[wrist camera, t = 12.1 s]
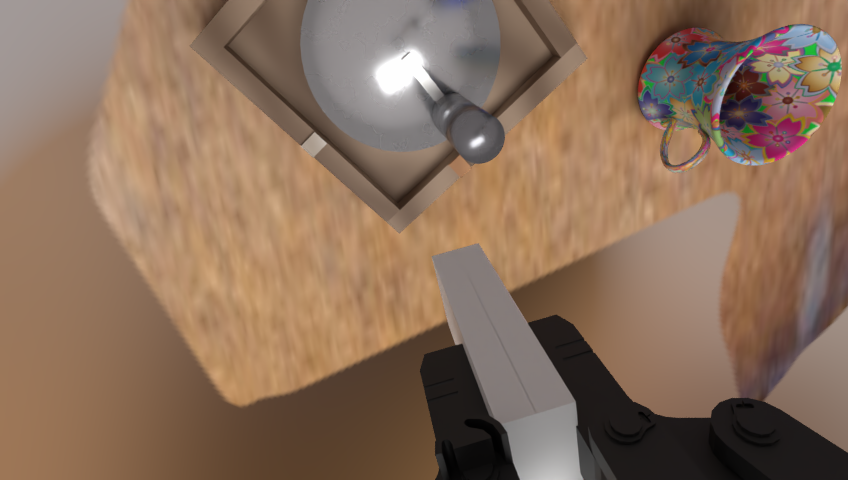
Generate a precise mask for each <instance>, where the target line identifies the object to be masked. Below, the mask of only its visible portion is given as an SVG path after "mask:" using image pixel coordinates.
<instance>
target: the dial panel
mask: <svg viewBox="0 0 848 480" xmlns="http://www.w3.org/2000/svg"><path fill="white" fill-rule="evenodd" d="M307 1H308V0H228V1H227V2H226V4H225V5H224V6H223V7H222V8H221V10H220V11H219V12H218V13H217V14H216V15H215V17H214V18H213V19H212V20H211V21H210V22H209V24H208V25H207V26H206V27H205V28H204V30H203V31H202V32H201V33H200V34H199V35H198V37H197V38H196V39H195V40H194V41H193V43H192V44H191V45H190V47H191V48H192V49H193V50H194V51H196V52H197V53H198V54H199V55H200V56H201V57H202V58H203V59H205V60H206V61H207V62H208V63H209V64H210V65H211V66H212V67H214V68H215V69H216V70H217V71H218V72H219V73H220V74H221V75H222V76H224V77H225V78H226V79H227V80H228V81H229V82H230V83H231V84H233V85H234V86H235V87H236V88H237V89H238V90H239V91H240V92H242V93H243V94H244V95H245V96H246V97H247V98H248V99H249V100H250V101H252V102H253V103H254V104H255V105H256V106H257V107H258V108H259V109H261V110H262V111H263V112H264V113H265V114H266V115H267V116H268V117H270V118H271V119H272V120H273V121H274V122H275V123H276V124H277V125H278V126H280V127H281V128H282V129H283V130H284V131H285V132H286V133H287V134H289V135H290V136H291V137H292V138H293V139H294V140H295V141H296V142H298V143H299V144H300V145H301V147H302V148H303V149H304V150H305V151H306V152H308V153H309V154H310V155H311V156H312V157H314V158H315V159H317V160H318V161H319V162H320V163H321V164H322V165H323V166H324V167H326V168H327V169H328V170H329V171H330V172H331V173H332V174H333V175H334V176H336V177H337V178H338V179H339V180H340V181H341V182H342V183H343V184H345V185H346V186H347V187H348V188H349V189H350V190H351V191H352V192H354V193H355V194H356V195H357V196H358V197H359V198H360V199H361V200H362V201H364V202H365V203H366V204H367V205H368V206H369V207H370V208H371V209H373V210H374V211H375V212H376V213H377V214H378V215H379V216H380V217H382V218H383V219H384V220H385V221H386V222H387V223H388V224H389V225H390V226H392V227H393V228H394V229H395V230H396V231H397V232H398V233H401V232H402V231H403V230H404V229H405V228H406V227H407V226H408V225H409V224H410V223H411V222H412V221H413V220H415V219H416V218H417V217H418V216H419V215H420V214H421V213H422V212H423V211H424V210H425V209H426V208H427V207H428V206H430V205H431V204H432V203H433V202H434V201H435V200H436V199H437V198H438V197H439V196H440V195H441V194H442V193H444V192H445V191H446V190H447V189H448V188H449V187H450V186H451V185H452V184H453V183H454V182H455V181H456V180H457V179H459V178H461V177H462V176H463V175H465V174H466V173H467V172H468V171H469V170H470V169H471V168H472V167H471V166H473V165H474V164H475V163H471V162H469V161H467V160H465V159H464V158H463V157H462V156H461V155H460V154H459V153H458V152H457V150H456V149H455V148H454V147H453V146H452V145H451V144H450V142H449V141H448V140H446V141H444V142H442V143H440V144H437V145H435V146H433V147H429V148H426V149H422V150H417V151H410V152H394V151H385V150H381V149H377V148H373V147H371V146H368V145H365V144H363V143H361V142H359V141H357V140H355V139H353V138H352V137H350V136H349V135H347V134H346V133H344V132H343V131H342V130H340V129H339V128H338V127H337V126H336V125H335V124H334V123H333V122H332V121H331V120H330V119H329V118H328V117H327V115H326V114H325V113H324V112H323V111H322V109H321V107H320V106H319V104H318V103H317V101H316V100H315V98H314V96H313V94H312V92H311V90H310V87H309V85H308V82H307V79H306V76H305V73H304V69H303V64H302V59H301V47H300V39H301V26H302V20H303V14H304V11H305V8H306V5H307ZM492 2H493V4H494V7H495V10H496V14H497V18H498V23H499V30H500V59H499V65H498V70H497V75H496V78H495V81H494V84H493V87H492V89H491V91H490V93H489V96H488V98H487V100H486V101H485V103H484V104H483V106H482V109H483V110H485V111H486V112H488V113H489V114H491V115H492V116H494V117H496V118H497V119H498V120H499V121H500V122H501V124H502V126H503V128H504V132H505V135H506V134H507V133H508V132H509V131H510V130H511V129H512V128H513V127H514V126H515V125H517V124H518V123H519V122H520V121H521V120H522V119H523V118H524V117H525V116H526V115H527V114H528V113H529V112H531V111H532V110H533V109H534V108H535V107H536V106H537V105H538V104H539V103H540V102H541V101H542V100H543V99H545V98H546V97H547V96H548V95H549V94H550V93H551V92H552V91H553V90H554V89H555V88H556V87H557V86H558V85H560V84H561V83H562V82H563V81H564V80H565V79H566V78H567V77H568V76H569V75H570V74H571V73H572V72H574V71H575V70H576V69H577V68H578V67H579V66H580V65H581V64H582V63H583V62H584V61H585V60H586V59H587V57H586V55H585V54H584V52H583V51H582V49H581V48H580V46H579V45H578V43H577V42H576V40H575V39H574V37H573V36H572V34H571V33H570V32H569V30H568V29H567V27H566V26H565V24H564V23H563V21H562V20H561V18H560V17H559V15H558V14H557V12H556V11H555V9H554V8H553V6H552V5H551V3H550V2H549V0H492Z"/></svg>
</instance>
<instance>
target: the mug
mask: <svg viewBox="0 0 848 480" xmlns="http://www.w3.org/2000/svg"><path fill="white" fill-rule="evenodd" d="M841 70H842V65H841V57H840V53H839V50H838V47H837V45H836V43H835V42H834V40H833V39H832V37H831V36H830V35H829V34H828V33H826V32H825V31H823V30H822V29H820V28H818V27H815V26H812V25H805V24H795V25H788V26H785V27H781V28H778V29H776V30H773V31H771V32H769V33H767V34H765V35H763V36H761V37H758V38H756V39H752V40H748V41H743V42H729V41H725V40H723V38H722V37H721V36H720V35H718V34H717V33H715V32H714V31H712V30H709V29H706V28H699V27H698V28H689V29H685V30H682V31H679V32H677V33H675V34H673V35H671V36H670V37H668V38H667V39H666V40H664V41H663V42H662V43H661V44H660V45H659V46H658V47H657V48H656V49H655V50H654V51H653V53H652V54H651V55H650V57H649V59H648V60H647V62H646V64H645V66H644V68H643V70H642V73H641V76H640V80H639V85H638V101H639V106H640V109H641V111H642V113H643V115H644V117H645V118H646V119H647V120H648V121H649V122H650V123H651V124H652V125H653V126H655V127H657V128H659V129H662V130H665V132H664V135H663V137H662V141H661V146H660V156H661V160H662V163H663V164H664V166H665V167H666V168H667V169H668V170H669V171H671V172H674V173H681V172H685V171H688V170H690V169H692V168H693V167H695V166H696V165H698V164H699V163H700V162H701V161H702V160H703V159H704V158H705V156H706V155H707V153H708V151H709V149H710V138H709V136H710V137H711V138H712V139H713V140H714V142H715V143H716V144H717V146H718V148H719V149H720V150H721V152H722V153H723V154H724V155H725V156H727V157H728V158H729V159H731V160H733V161H735V162H737V163H740V164H744V165H762V164H767V163H771V162H774V161H777V160H779V159H781V158H783V157H785V156H787V155H789V154H790V153H792V152H793V151H795V150H796V149H798V148H799V147H800V146H801V145H803V144H804V143H805V142H806V141H807V140H808V139H809V138H810V137H811V136H812V135H813V134H814V133H815V132H816V130H817V129H818V128H819V127H820V125H821V124H822V123H823V121H824V120H825V118H826V117H827V115H828V113H829V111H830V109H831V108H832V106H833V103H834V101H835V99H836V96H837V93H838V89H839V86H840V80H841ZM686 128H694V129H697V130H698V133H699V134H700V135H701V137H702V140H703V141H702V145H701V147H700V149H699V151H698V152H697V153H696V154H695V155H694V156H693V157H692V158H691V159H690V160H688V161H686V162H685V163H682V164H680V165H671V164H670V163H669V160H668V145H669V142H670V139H671V136H672V134H673V132H674V131H676V130H682V129H686Z"/></svg>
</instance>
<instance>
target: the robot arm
mask: <svg viewBox="0 0 848 480" xmlns="http://www.w3.org/2000/svg"><path fill="white" fill-rule="evenodd" d="M432 260H433V264H434V268H435V272H436V276H437V280H438V284H439V288H440V292H441V296H442V300H443V304H444V308H445V312H446V316H447V320H448V324H449V327H450V330H451V333H452V336H453V339H454V341H455V344H456V345H455V346H452V347H448V348H445V349H441V350H438V351H434V352H431V353H427V354H425V355H424V358H423V362H422V365H421V369H420V373H421V377H422V382H423V386H424V390H425V395H426V399H427V403H428V408H429V411H430V416H431V421H432V425H433V429H434V433H435V438H436V441H435V456H436V459H437V462H438V465H439V472H438V475H437V477H436V479H435V480H583V479H584V480H848V453H847V452H846V451H844V450H843V449H841V448H839V447H838V446H836V445H835V444H833V443H832V442H830V441H828V440H827V439H825V438H824V437H822V436H821V435H819V434H818V433H816V432H814V431H813V430H811V429H810V428H808V427H807V426H805V425H803V424H802V423H800V422H799V421H797V420H796V419H794V418H792V417H791V416H790V415H788V414H786V413H785V412H783V411H782V410H780V409H778V408H776V407H774V406H772V405H770V404H768V403H766V402H762V401H758V400H754V399H750V398H731V399H728V400H725V401H723V402H720V403H719V404H718V405H717V406H716V407H715V408H714V409H713V410H712V414H711V418H672V417H664V416H660V415H657V414H654V413H653V412H652V411H651V410H649V409H648V408H647V407H644V406H642V405H640V404H638V403H636V402H633V401H632V400H631V399H630V398H629V397H628V396H627V395H626V393H625V392H624V391H623V389H622V388H621V387H620V385H619V384H618V383H617V382H616V381H615V379H614V378H613V376H612V375H611V374H610V372H609V371H608V370H607V369H606V367H605V366H604V365H603V363H602V362H601V361H600V359H599V358H598V357H597V355H596V354H595V353H593V350H592V349H591V347H590V346H589V345H588V344H587V342H586V341H584V338H583V337H582V335H581V334H580V333H579V331H578V330H577V329H576V328H575V326H574V325H573V324H571V323H570V322H568V321H566V320H565V319H563V318H561V317H560V316H558V315H553V316H550V317H546V318H543V319H540V320H537V321H533V322H529V323H527V322H526V320H525V318H524V317H523V315H522V313H521V312H520V310H519V309H518V307H517V305H516V304H515V302H514V300H513V299H512V297H511V295H510V294H509V292H508V291H507V289H506V287H505V286H504V284H503V282H502V281H501V279H500V278H499V276H498V274H497V273H496V271H495V269H494V268H493V266H492V265H491V263H490V261H489V260H488V258H487V256H486V255H485V253H484V252H483V250H482V248H481V247H480V245H479V243H478V244H474V245H471V246H467V247H463V248H460V249H456V250H453V251H449V252H446V253H442V254H439V255H435V256H432Z"/></svg>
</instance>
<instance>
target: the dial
mask: <svg viewBox="0 0 848 480" xmlns="http://www.w3.org/2000/svg"><path fill="white" fill-rule="evenodd" d="M300 47H301V59H302V64H303V69H304V73H305V76H306V79H307V82H308V85H309V87H310V90H311V92H312V94H313V96H314V98H315V100H316V101H317V103H318V104H319V106H320V107H321V109H322V111H323V112H324V113H325V114H326V115H327V117H328V118H329V119H330V120H331V121H332V122H333V123H334V124H335V125H336V126H337V127H338V128H339V129H340V130H342V131H343V132H344V133H346V134H347V135H349V136H350V137H352V138H353V139H355V140H357V141H359V142H361V143H363V144H365V145H368V146H371V147H373V148H377V149H381V150H385V151H394V152H410V151H417V150H422V149H426V148H429V147H433V146H435V145H437V144H440V143H442V142H444V141H446V140H448V141H449V142H450V144H451V145H452V146H453V147H454V148H455V149H456V150H457V152H458V153H459V154H460V155H461V156H462V157H463V158H464V159H465V160H467V161H469V162H471V163H476V164H480V163H485V162H488V161H490V160H492V159H493V158H495V157H496V156H497V155H498V153H499V152H500V151H501V149H502V147H503V144H504V140H505V132H504V128H503V126H502V124H501V122H500V121H499V120H498V119H497V118H496V117H494V116H492V115H491V114H489V113H488V112H486V111H485V110H483V109H482V106H483V104H484V103H485V101H486V100H487V98H488V96H489V93H490V91H491V89H492V87H493V84H494V81H495V78H496V75H497V70H498V65H499V59H500V30H499V23H498V18H497V14H496V10H495V7H494V4H493V2H492V0H308V1H307V5H306V8H305V11H304V14H303V20H302V26H301V39H300Z"/></svg>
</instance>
